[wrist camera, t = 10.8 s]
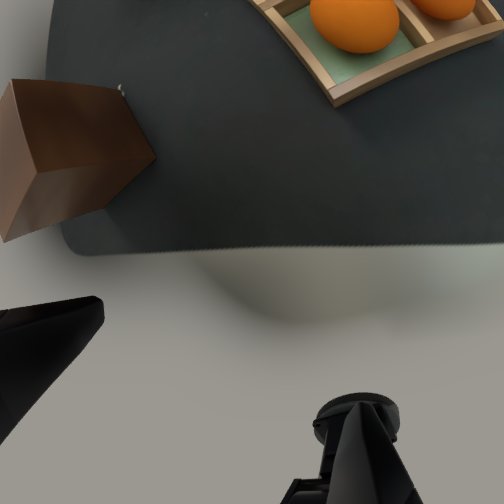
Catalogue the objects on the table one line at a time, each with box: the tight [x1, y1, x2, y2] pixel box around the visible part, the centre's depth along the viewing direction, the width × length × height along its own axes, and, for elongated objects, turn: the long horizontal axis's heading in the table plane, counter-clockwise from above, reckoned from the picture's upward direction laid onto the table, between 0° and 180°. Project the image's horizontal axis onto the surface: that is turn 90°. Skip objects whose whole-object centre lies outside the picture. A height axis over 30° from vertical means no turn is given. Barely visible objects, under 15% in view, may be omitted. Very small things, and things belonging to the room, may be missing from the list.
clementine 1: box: [310, 0, 400, 53], centre depth 10 cm, size 5×5×5 cm
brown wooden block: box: [0, 79, 156, 243], centre depth 15 cm, size 7×7×10 cm
